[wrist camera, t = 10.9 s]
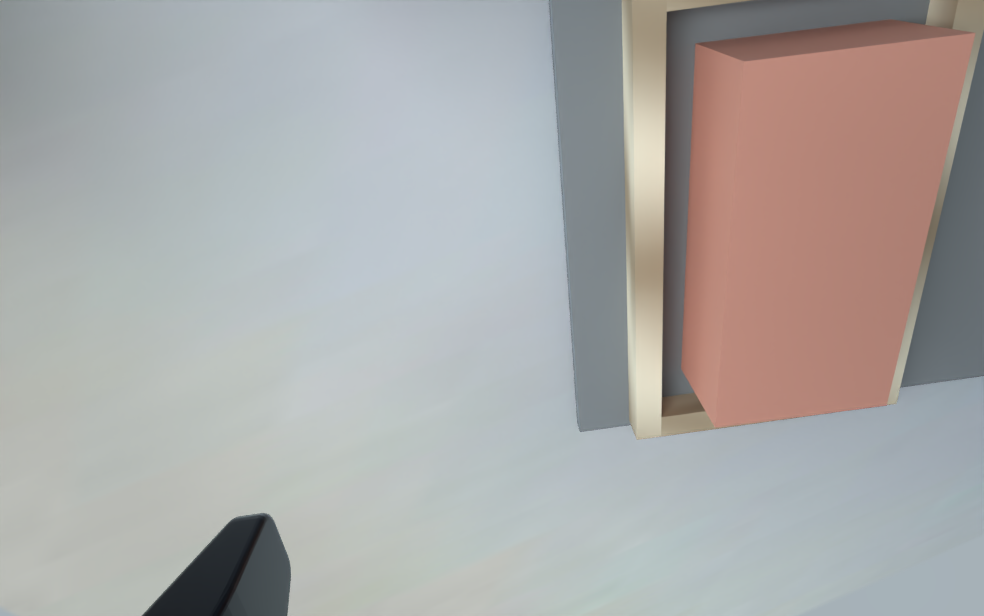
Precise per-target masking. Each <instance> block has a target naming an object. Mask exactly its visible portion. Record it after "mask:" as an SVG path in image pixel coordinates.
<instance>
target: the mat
mask: <svg viewBox="0 0 984 616" xmlns="http://www.w3.org/2000/svg"><path fill="white" fill-rule="evenodd" d="M929 3H930V0H750V1H742V2H735V3H727V4H720V5H713V6H705V7H698V8H690V9H683V10H676V11H668V12H667V22H666V100H665V177H664V255H663V333H662V397H668V396H675V395H682V394H689V393H695V392H694V390H693V389H692V387H691V385H690V383H689V382H688V380H687V378H686V377H685V375H684V373H683V371H682V370H681V360H682V337H683V315H684V292H685V269H686V246H687V223H688V201H689V178H690V155H691V132H692V109H693V86H694V64H695V43H702V42H711V41H719V40H727V39H735V38H743V37H751V36H759V35H767V34H775V33H783V32H791V31H800V30H808V29H816V28H824V27H832V26H840V25H848V24H856V23H864V22H872V21H880V20H889V19H892V20H898V21H905V22H911V23H917V24H923V25H925V24H926V19H927V14H928V9H929ZM549 10H550V25H551V40H552V54H553V69H554V84H555V99H556V114H557V129H558V143H559V158H560V173H561V188H562V203H563V217H564V232H565V247H566V262H567V277H568V291H569V306H570V321H571V336H572V351H573V365H574V380H575V395H576V410H577V423H578V427H579V430H580V432H584V431H591V430H598V429H605V428H612V427H619V426H627V425H631V424H630V421H629V382H628V326H627V270H626V214H625V158H624V102H623V46H622V0H549ZM979 376H984V31H983V35H982V39H981V44H980V48H979V52H978V57H977V61H976V65H975V69H974V74H973V78H972V82H971V87H970V91H969V95H968V99H967V104H966V108H965V112H964V116H963V121H962V125H961V129H960V134H959V138H958V142H957V146H956V151H955V155H954V159H953V164H952V168H951V172H950V176H949V181H948V185H947V189H946V194H945V198H944V202H943V206H942V211H941V215H940V219H939V223H938V228H937V232H936V236H935V241H934V245H933V249H932V253H931V258H930V262H929V266H928V271H927V275H926V279H925V283H924V288H923V292H922V296H921V300H920V305H919V309H918V313H917V318H916V322H915V326H914V330H913V335H912V339H911V343H910V348H909V352H908V356H907V360H906V365H905V369H904V373H903V378H902V382H901V386H900V387H907V386H914V385H921V384H929V383H936V382H943V381H950V380H957V379H964V378H972V377H979Z"/></svg>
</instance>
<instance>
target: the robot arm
mask: <svg viewBox="0 0 984 616" xmlns="http://www.w3.org/2000/svg"><path fill="white" fill-rule="evenodd" d="M290 581H291V568H290V562H289V558H288V555H287V552H286V550H285V547H284V545H283V542H282V540H281V537H280V535H279V532H278V530H277V527H276V525H275V522H274V520H273V518H272V517H271V516H270V515H269V514H266V513H260V514H253V515H246V516H239V517H236V518H234V519H232V520H231V521H230V522H229V523H228V524H227V525H226V526H225V527H224V528H223V529H222V530H221V531H220V532H219V533H218V534H217V536H216V537H215V538H214V539H213V540H212V541H211V542H210V543H209V544H208V545H207V546H206V547H205V548H204V549H203V551H202V552H201V553H200V554H199V555H198V556H197V557H196V558H195V559H194V560H193V561H192V562H191V563H190V564H189V566H188V567H187V568H186V569H185V570H184V571H183V572H182V573H181V574H180V575H179V576H178V577H177V578H176V580H175V581H174V582H173V583H172V584H171V585H170V586H169V587H168V588H167V589H166V590H165V591H164V592H163V593H162V595H161V596H160V597H159V598H158V599H157V600H156V601H155V602H154V603H153V604H152V605H151V606H150V607H149V609H148V610H147V611H146V612H145V613H144V614H143V615H142V616H287V613H288V602H289V592H290Z"/></svg>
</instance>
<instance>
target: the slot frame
mask: <svg viewBox="0 0 984 616" xmlns="http://www.w3.org/2000/svg"><path fill="white" fill-rule="evenodd" d="M742 1H750V0H622V46H623V102H624V158H625V214H626V270H627V326H628V382H629V421H630V424H631V426H632V429H633V431H634V434H635V436H636V439H637V440H640V439H647V438H654V437H661V436H669V435H676V434H683V433H690V432H697V431H705V430H712V429H719V428H726V427H733V426H740V425H733V426H726V427H718V428H715V427H714V425H713V423H712V422H711V420H710V418H709V416H708V415H707V413H706V411H705V410H704V408H703V406H702V404H701V403H700V401H699V399H698V397H697V396H696V394H695V393H689V394H682V395H675V396H668V397H662V333H663V255H664V177H665V100H666V22H667V12H668V11H676V10H683V9H690V8H698V7H705V6H713V5H720V4H727V3H735V2H742ZM925 25H930V26H936V27H942V28H948V29H954V30H961V31H967V32H973V33H975V38H974V42H973V46H972V50H971V54H970V59H969V63H968V67H967V71H966V75H965V80H964V84H963V88H962V92H961V96H960V101H959V105H958V109H957V113H956V117H955V121H954V126H953V130H952V134H951V138H950V142H949V147H948V151H947V155H946V159H945V163H944V168H943V172H942V176H941V180H940V184H939V189H938V193H937V197H936V201H935V205H934V209H933V214H932V218H931V222H930V226H929V230H928V235H927V239H926V243H925V247H924V251H923V256H922V260H921V264H920V268H919V272H918V277H917V281H916V285H915V289H914V293H913V297H912V302H911V306H910V310H909V314H908V318H907V323H906V327H905V331H904V335H903V339H902V344H901V348H900V352H899V356H898V360H897V365H896V369H895V373H894V377H893V381H892V386H891V390H890V394H889V398H888V402H887V405H891V404H896V403H897V399H898V395H899V390H900V386H901V382H902V378H903V373H904V369H905V365H906V360H907V356H908V352H909V348H910V343H911V339H912V335H913V330H914V326H915V322H916V318H917V313H918V309H919V305H920V300H921V296H922V292H923V288H924V283H925V279H926V275H927V271H928V266H929V262H930V258H931V253H932V249H933V245H934V241H935V236H936V232H937V228H938V223H939V219H940V215H941V211H942V206H943V202H944V198H945V194H946V189H947V185H948V181H949V176H950V172H951V168H952V164H953V159H954V155H955V151H956V146H957V142H958V138H959V134H960V129H961V125H962V121H963V116H964V112H965V108H966V104H967V99H968V95H969V91H970V87H971V82H972V78H973V74H974V69H975V65H976V61H977V57H978V52H979V48H980V44H981V39H982V35H983V31H984V0H930V3H929V9H928V14H927V19H926V24H925ZM833 413H834V412H833ZM825 414H827V413H825ZM818 415H819V414H818ZM810 416H812V415H810ZM802 417H805V416H802ZM795 418H798V417H795ZM787 419H791V418H787ZM779 420H784V419H779ZM772 421H776V420H772ZM764 422H769V421H764ZM756 423H762V422H756ZM749 424H755V423H749ZM741 425H748V424H741Z"/></svg>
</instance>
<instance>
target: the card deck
mask: <svg viewBox="0 0 984 616" xmlns="http://www.w3.org/2000/svg"><path fill="white" fill-rule="evenodd" d="M974 38H975V33H973V32H967V31H961V30H954V29H948V28H942V27H936V26H930V25H923V24H917V23H911V22H905V21H898V20H892V19H889V20H880V21H872V22H864V23H856V24H848V25H840V26H832V27H824V28H816V29H808V30H800V31H791V32H783V33H775V34H767V35H759V36H751V37H743V38H735V39H727V40H719V41H711V42H702V43H695V64H694V86H693V109H692V132H691V155H690V178H689V201H688V223H687V246H686V269H685V292H684V315H683V337H682V360H681V370H682V371H683V373H684V375H685V377H686V378H687V380H688V382H689V383H690V385H691V387H692V389H693V390H694V392H695V394H696V396H697V397H698V399H699V401H700V403H701V404H702V406H703V408H704V410H705V411H706V413H707V415H708V416H709V418H710V420H711V422H712V423H713V425H714V427H715V428H718V427H726V426H733V425H741V424H749V423H756V422H764V421H772V420H779V419H787V418H795V417H802V416H810V415H818V414H825V413H833V412H841V411H848V410H856V409H864V408H871V407H879V406H887V402H888V398H889V394H890V390H891V386H892V381H893V377H894V373H895V369H896V365H897V360H898V356H899V352H900V348H901V344H902V339H903V335H904V331H905V327H906V323H907V318H908V314H909V310H910V306H911V302H912V297H913V293H914V289H915V285H916V281H917V277H918V272H919V268H920V264H921V260H922V256H923V251H924V247H925V243H926V239H927V235H928V230H929V226H930V222H931V218H932V214H933V209H934V205H935V201H936V197H937V193H938V189H939V184H940V180H941V176H942V172H943V168H944V163H945V159H946V155H947V151H948V147H949V142H950V138H951V134H952V130H953V126H954V121H955V117H956V113H957V109H958V105H959V101H960V96H961V92H962V88H963V84H964V80H965V75H966V71H967V67H968V63H969V59H970V54H971V50H972V46H973V42H974Z"/></svg>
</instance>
